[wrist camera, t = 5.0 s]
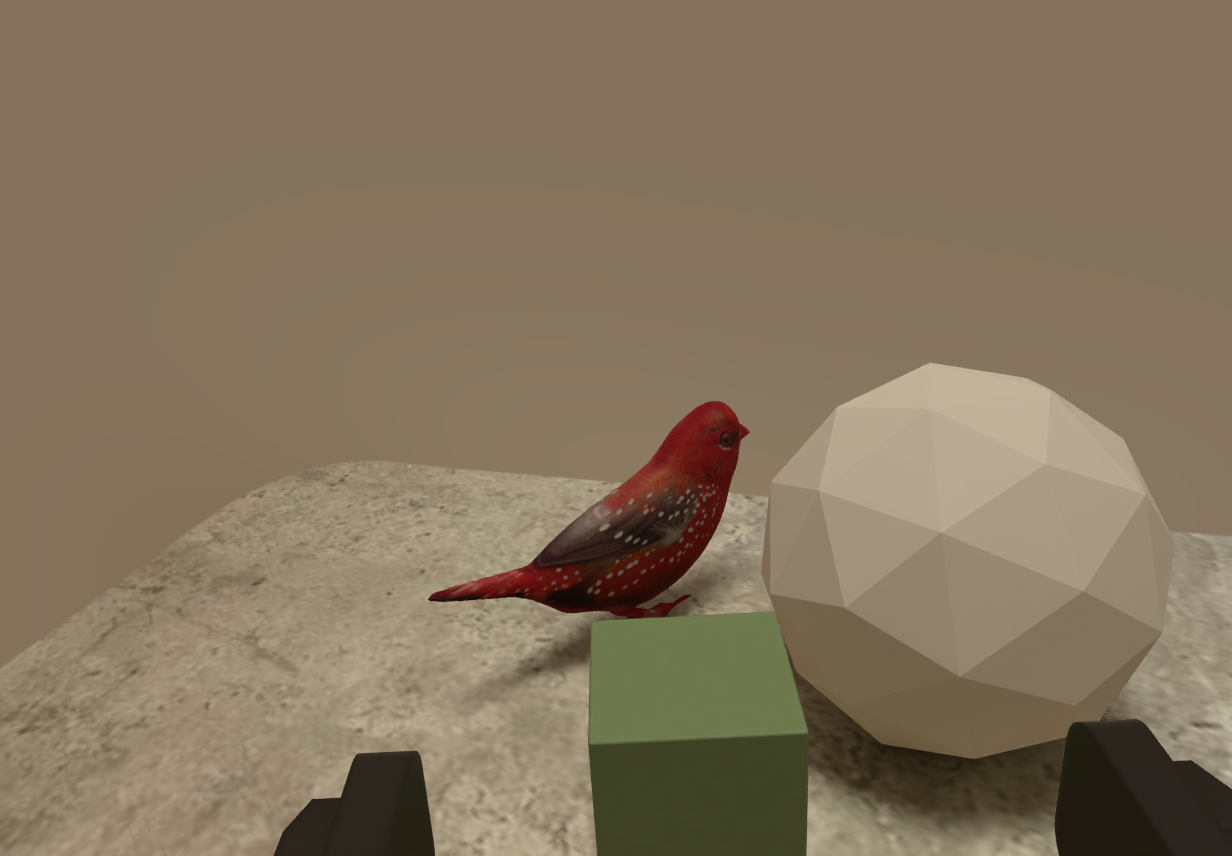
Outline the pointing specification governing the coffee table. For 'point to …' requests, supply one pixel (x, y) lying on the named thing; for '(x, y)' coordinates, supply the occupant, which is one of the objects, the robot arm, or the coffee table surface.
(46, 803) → the coffee table surface
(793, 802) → the green bar
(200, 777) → the coffee table surface
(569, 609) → the decorative bird figurine
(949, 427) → the geometric sphere
